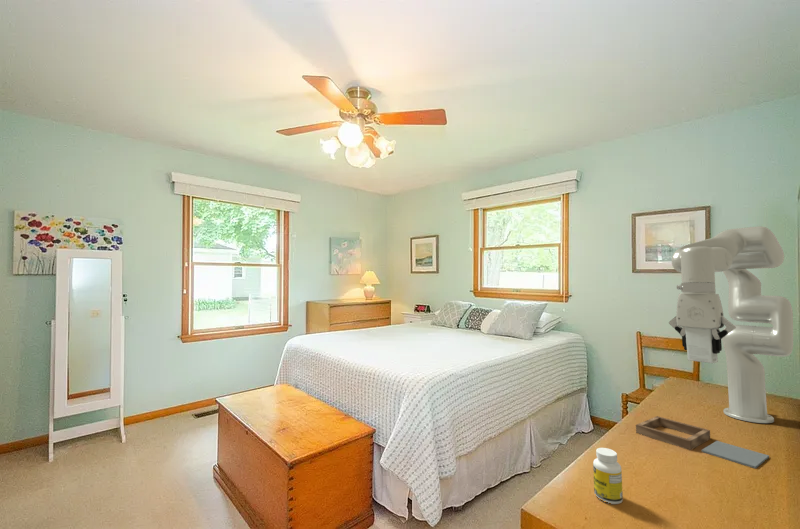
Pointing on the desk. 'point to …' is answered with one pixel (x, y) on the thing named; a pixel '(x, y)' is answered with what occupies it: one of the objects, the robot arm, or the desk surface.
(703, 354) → the skincare box
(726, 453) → the pad
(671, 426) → the brown wooden frame
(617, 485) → the supplement bottle
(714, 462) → the desk surface
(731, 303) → the robot arm
